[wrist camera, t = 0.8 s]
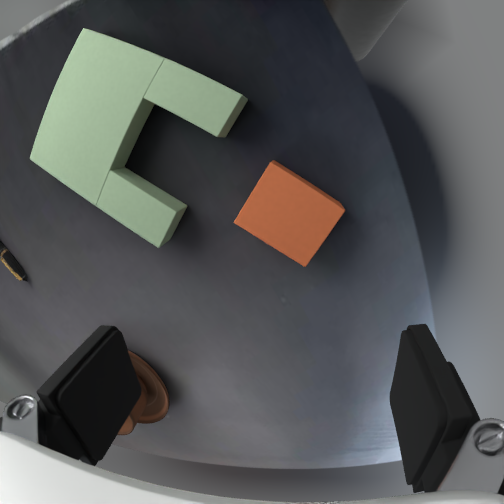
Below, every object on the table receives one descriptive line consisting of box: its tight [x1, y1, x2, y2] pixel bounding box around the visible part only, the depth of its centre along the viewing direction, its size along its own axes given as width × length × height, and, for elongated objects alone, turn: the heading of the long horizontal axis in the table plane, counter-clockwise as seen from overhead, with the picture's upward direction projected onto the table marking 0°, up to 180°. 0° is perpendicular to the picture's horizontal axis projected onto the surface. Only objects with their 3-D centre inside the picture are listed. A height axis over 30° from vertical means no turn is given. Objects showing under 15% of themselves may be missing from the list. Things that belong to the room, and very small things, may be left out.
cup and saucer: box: [117, 350, 169, 435], centre depth 30 cm, size 12×12×6 cm
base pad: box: [30, 28, 248, 248], centre depth 23 cm, size 13×16×2 cm
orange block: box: [234, 160, 345, 267], centre depth 23 cm, size 5×6×2 cm
